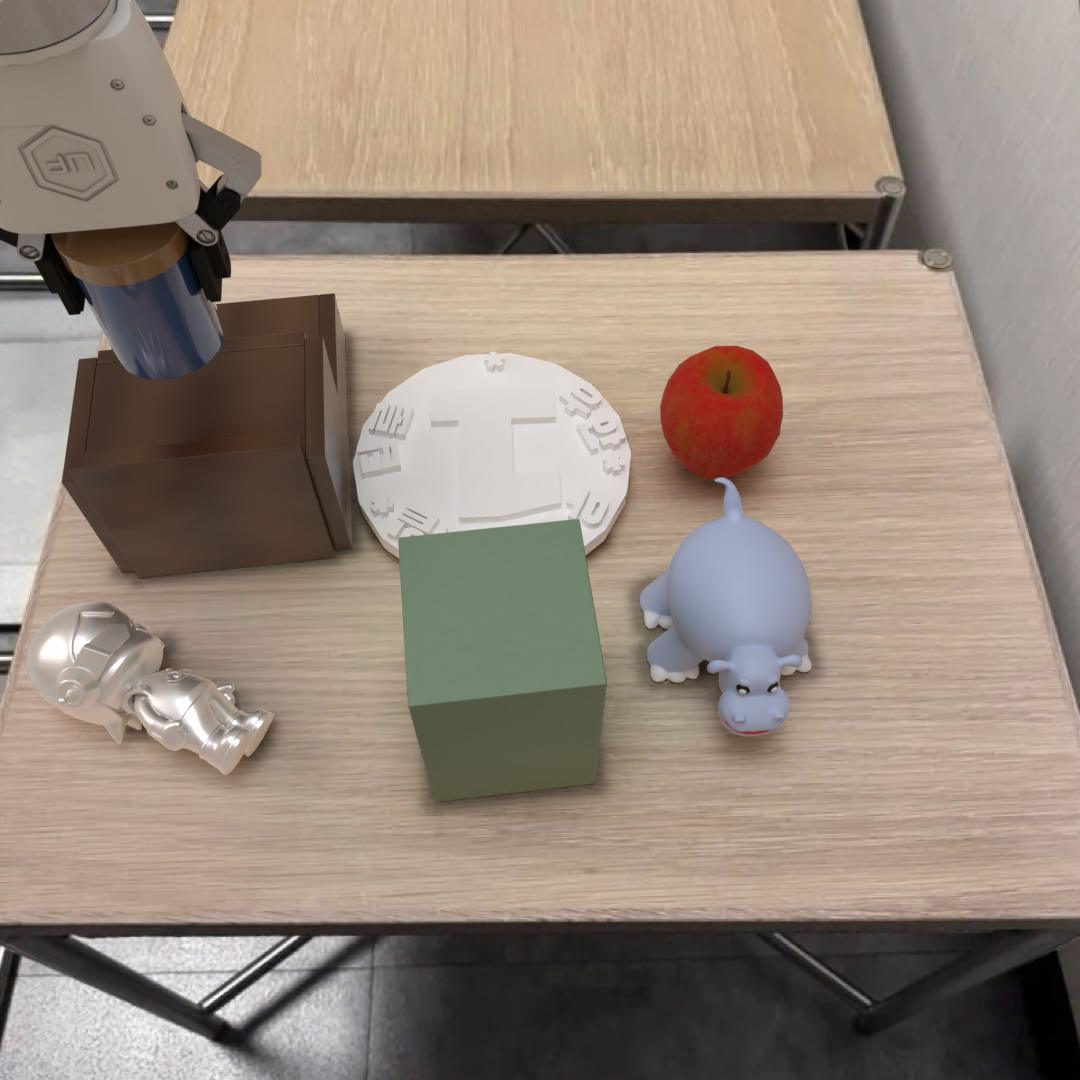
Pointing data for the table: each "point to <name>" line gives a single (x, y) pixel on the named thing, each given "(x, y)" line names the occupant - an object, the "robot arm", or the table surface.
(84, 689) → the figurine
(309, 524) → the wooden storage crate
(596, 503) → the white round plaque
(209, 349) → the jar
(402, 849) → the table surface
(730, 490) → the hippopotamus toy
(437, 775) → the stand
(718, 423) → the apple
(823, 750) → the table surface
